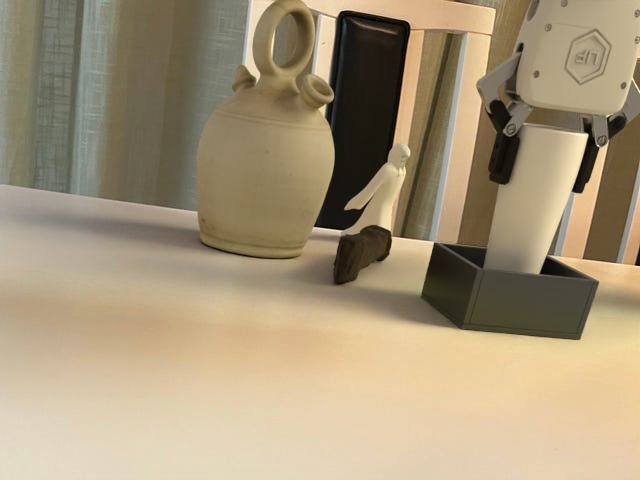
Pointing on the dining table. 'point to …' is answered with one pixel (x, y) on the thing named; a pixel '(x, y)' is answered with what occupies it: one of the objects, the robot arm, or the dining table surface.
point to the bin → (507, 294)
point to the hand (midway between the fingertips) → (535, 185)
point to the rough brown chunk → (360, 252)
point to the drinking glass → (534, 197)
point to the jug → (267, 150)
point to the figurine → (380, 192)
